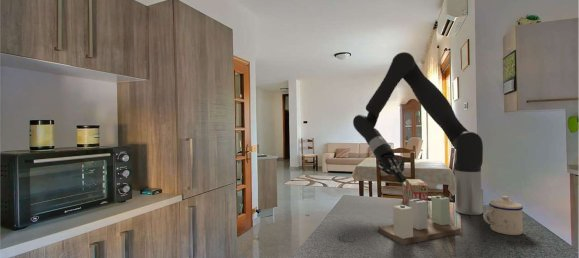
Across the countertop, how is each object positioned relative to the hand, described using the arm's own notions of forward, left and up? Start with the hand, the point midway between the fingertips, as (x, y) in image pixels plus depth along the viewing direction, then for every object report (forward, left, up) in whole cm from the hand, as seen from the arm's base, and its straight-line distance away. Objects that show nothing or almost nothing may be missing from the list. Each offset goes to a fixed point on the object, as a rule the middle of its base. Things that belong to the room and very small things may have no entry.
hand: (402, 181), depth 111 cm
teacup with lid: (-20, +24, -15) cm, 34 cm away
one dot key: (+16, +18, -13) cm, 27 cm away
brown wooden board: (+6, +14, -14) cm, 21 cm away
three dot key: (+6, +14, -13) cm, 20 cm away
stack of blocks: (-15, -10, -15) cm, 24 cm away
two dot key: (-4, +14, -13) cm, 19 cm away
